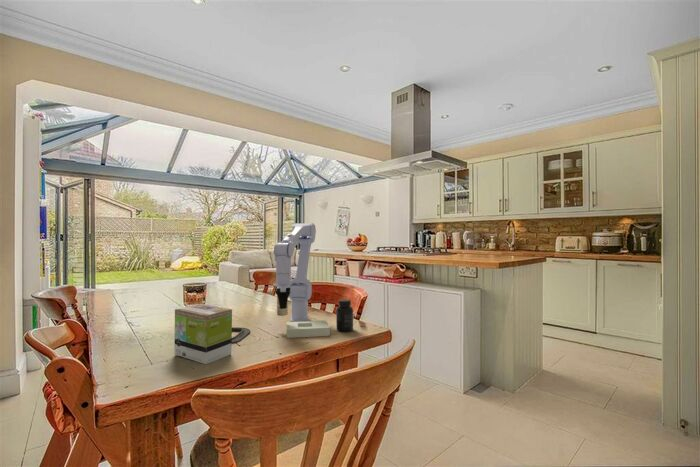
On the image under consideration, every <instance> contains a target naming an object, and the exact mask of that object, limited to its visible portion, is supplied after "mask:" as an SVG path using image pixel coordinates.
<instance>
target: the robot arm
mask: <svg viewBox="0 0 700 467" xmlns="http://www.w3.org/2000/svg"><path fill="white" fill-rule="evenodd" d="M291 229H292V230H291V233H287V235H286V236H285V237H284V238H283V239H282V240H281V242H277V243H275V245H274V247H273V255H274V260H275V278H276V279H275V283H273V284H272V287H276V290H275V293H276V297H277V296H278V299H279V305H280V309H286V306H287V300H288V299H290V301H291V315H290V316H289V317H290V322H302V321H310V319H309V314H308V312H309V311H308V310H309V308H308V306H309V304H308V303H309V301H308V300H310V299H311V298H312V293H313V291H312V290H313V288H312V286H313V285H312V282H311V281H310V280H309V279H308V278H307V277H308V271H309V270H308V268H309V261H310V255H311V247H312V246H311V245H312V244H313V243H315V240H316V235H317V234H316V233H317V230H316V224H315V223H314V222H312V223H311V222H310V223H297V222H295V223H293V225H292V228H291ZM298 244H299V245H300V246H299V252H298V259H297V266H296V267H297V268H296V274H295V276H294V278H292V276H291V274H292V257H293V256H294V251H295V248H296V246H297V245H298Z"/></svg>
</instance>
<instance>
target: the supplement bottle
mask: <svg viewBox="0 0 700 467" xmlns="http://www.w3.org/2000/svg"><path fill="white" fill-rule="evenodd" d="M351 305H352V302H351V299H348V298H347V299H344V298H343V299H338V307H337V308H336V309H335V310H336V311H335V312H336V316H335V318H336V325H335V326H336V331H337V332H340V333H350V332H352V331H353V330H354V309H353V307H352V306H351Z"/></svg>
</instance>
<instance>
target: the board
mask: <svg viewBox="0 0 700 467" xmlns="http://www.w3.org/2000/svg"><path fill="white" fill-rule="evenodd" d="M285 326H286V327H285V328H286V329H285V330H286V338H287V339H291V338H292V339H294V338H308V337H309V338H310V337H311V338H312V337H313V338H314V337H328V336H330V335H331V330H330V329H331V328H330V326H329V323H328V321H327V320H309V321H293V322H291V321H287V322H286V325H285Z"/></svg>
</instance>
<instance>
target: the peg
mask: <svg viewBox="0 0 700 467" xmlns="http://www.w3.org/2000/svg"><path fill="white" fill-rule="evenodd" d="M276 300H277V301H276V302H277V304H276V309H277V310H276V313H277V316H278V317H279V316H281V317H283V316H284V317H285V316H287V315H288V309H289V308H288V307H289V306H288V300H287V306H286V309H280V305H279V299H278V296H277V295H276Z"/></svg>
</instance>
